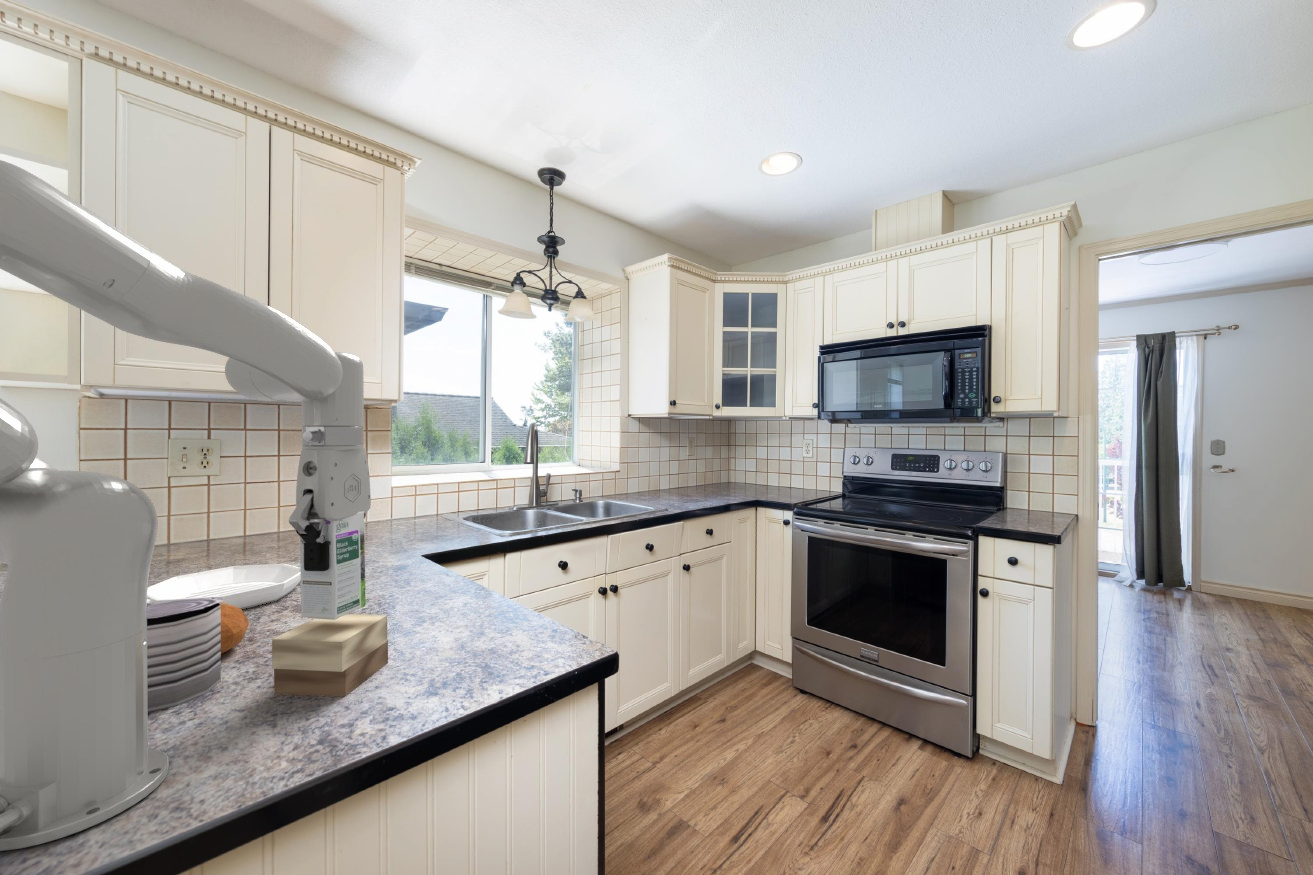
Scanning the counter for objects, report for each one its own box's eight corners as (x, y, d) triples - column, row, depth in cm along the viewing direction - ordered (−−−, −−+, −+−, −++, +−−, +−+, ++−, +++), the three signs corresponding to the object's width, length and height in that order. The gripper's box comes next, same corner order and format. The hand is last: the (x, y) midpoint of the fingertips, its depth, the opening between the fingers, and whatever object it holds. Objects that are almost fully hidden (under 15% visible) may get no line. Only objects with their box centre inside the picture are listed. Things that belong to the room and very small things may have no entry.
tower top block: (342, 671, 69) (342, 641, 68) (272, 668, 69) (272, 639, 69) (387, 641, 78) (387, 615, 78) (325, 638, 79) (325, 612, 79)
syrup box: (334, 620, 70) (334, 515, 70) (298, 617, 72) (298, 513, 71) (366, 607, 76) (366, 509, 76) (332, 604, 77) (332, 508, 77)
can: (80, 721, 63) (79, 623, 63) (143, 678, 74) (142, 595, 74) (193, 707, 66) (193, 614, 66) (237, 668, 77) (237, 588, 77)
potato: (243, 635, 89) (243, 592, 89) (254, 655, 81) (254, 608, 81) (170, 651, 83) (170, 605, 83) (174, 674, 75) (174, 623, 75)
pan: (148, 636, 89) (148, 611, 89) (106, 610, 102) (106, 588, 102) (337, 590, 116) (337, 571, 116) (283, 573, 129) (283, 556, 129)
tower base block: (345, 699, 69) (345, 670, 69) (274, 697, 69) (274, 668, 69) (388, 665, 79) (387, 639, 79) (325, 664, 79) (325, 638, 79)
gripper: (316, 440, 65) (316, 582, 65) (392, 438, 82) (392, 550, 82) (259, 440, 65) (259, 580, 65) (347, 438, 82) (347, 549, 83)
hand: (333, 562), depth 74 cm, fingers closed on syrup box, 6 cm apart
